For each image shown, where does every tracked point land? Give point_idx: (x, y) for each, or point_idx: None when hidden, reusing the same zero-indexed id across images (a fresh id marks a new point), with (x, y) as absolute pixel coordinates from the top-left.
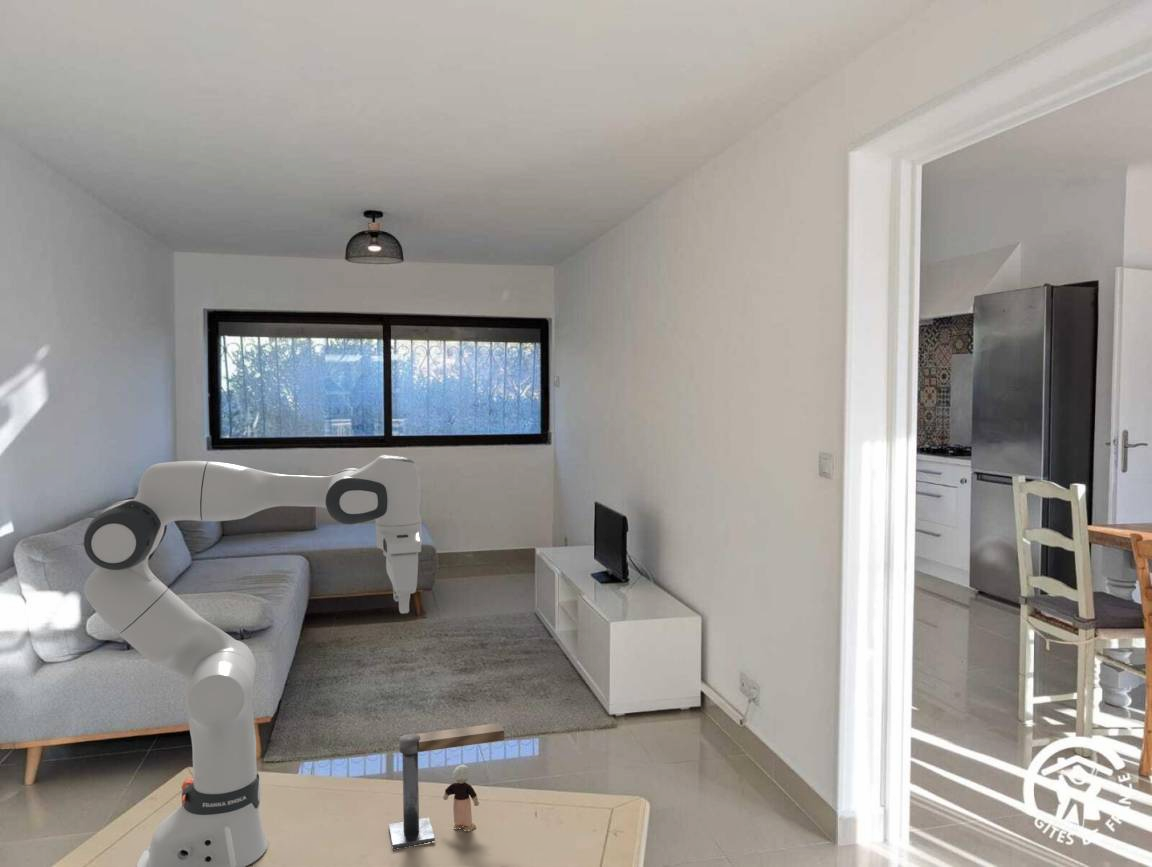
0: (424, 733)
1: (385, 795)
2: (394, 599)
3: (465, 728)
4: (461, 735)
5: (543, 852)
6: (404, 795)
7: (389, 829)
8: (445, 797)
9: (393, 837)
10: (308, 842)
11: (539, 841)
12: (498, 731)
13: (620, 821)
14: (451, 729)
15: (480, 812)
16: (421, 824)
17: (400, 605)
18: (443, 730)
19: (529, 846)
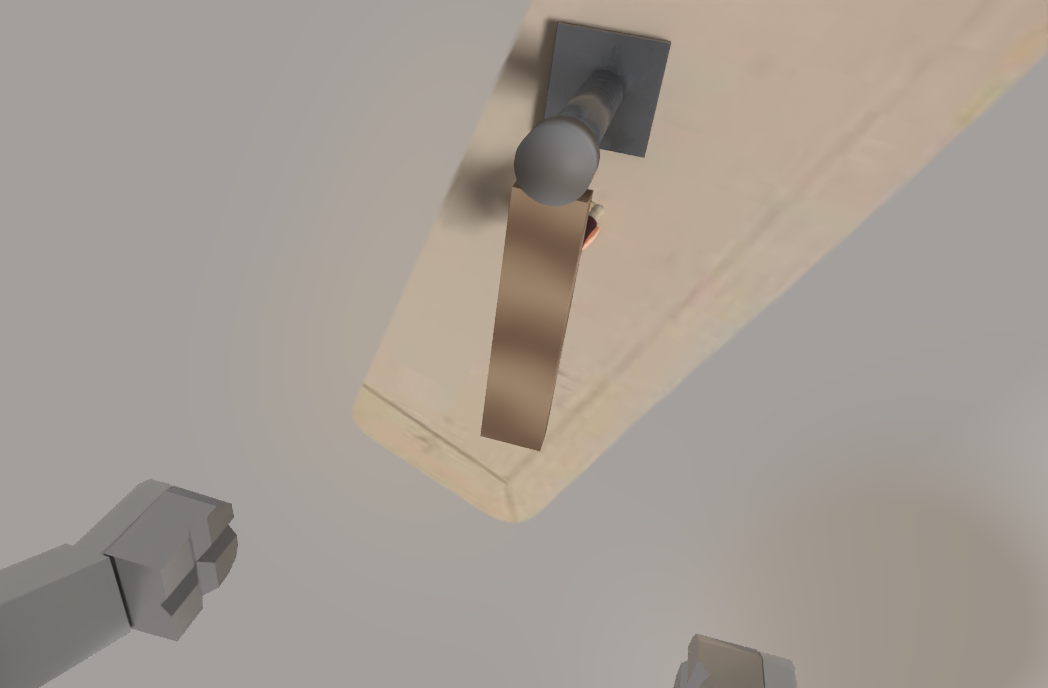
0: (576, 230)
1: (877, 88)
2: (710, 649)
3: (547, 357)
4: (501, 325)
5: (413, 313)
6: (579, 93)
7: (650, 39)
8: (591, 210)
9: (594, 36)
10: None
11: (452, 325)
12: (482, 421)
13: (456, 466)
14: (563, 319)
15: (622, 279)
16: (619, 127)
17: (86, 543)
18: (568, 294)
19: (442, 302)
